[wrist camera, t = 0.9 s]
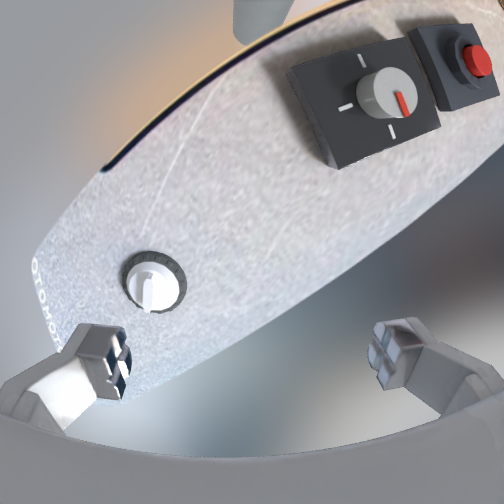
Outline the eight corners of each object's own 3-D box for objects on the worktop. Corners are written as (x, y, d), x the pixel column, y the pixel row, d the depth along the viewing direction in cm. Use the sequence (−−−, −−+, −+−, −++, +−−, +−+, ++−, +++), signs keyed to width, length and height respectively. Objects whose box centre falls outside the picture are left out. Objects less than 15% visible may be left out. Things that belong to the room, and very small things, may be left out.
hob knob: (348, 80, 21) (366, 72, 18) (386, 69, 21) (407, 61, 17) (367, 124, 23) (388, 124, 19) (403, 111, 22) (426, 110, 19)
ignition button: (457, 48, 19) (467, 45, 17) (474, 45, 19) (484, 43, 17) (469, 78, 20) (479, 77, 19) (485, 74, 20) (495, 73, 18)
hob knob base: (285, 74, 24) (291, 66, 21) (391, 43, 22) (406, 36, 19) (328, 166, 27) (339, 170, 24) (425, 126, 26) (442, 127, 23)
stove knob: (123, 304, 31) (115, 318, 29) (124, 246, 29) (114, 256, 26) (183, 316, 32) (180, 331, 30) (190, 258, 30) (187, 270, 27)
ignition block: (406, 32, 22) (426, 23, 18) (462, 26, 20) (481, 20, 17) (440, 111, 25) (462, 111, 21) (489, 95, 24) (509, 95, 20)
